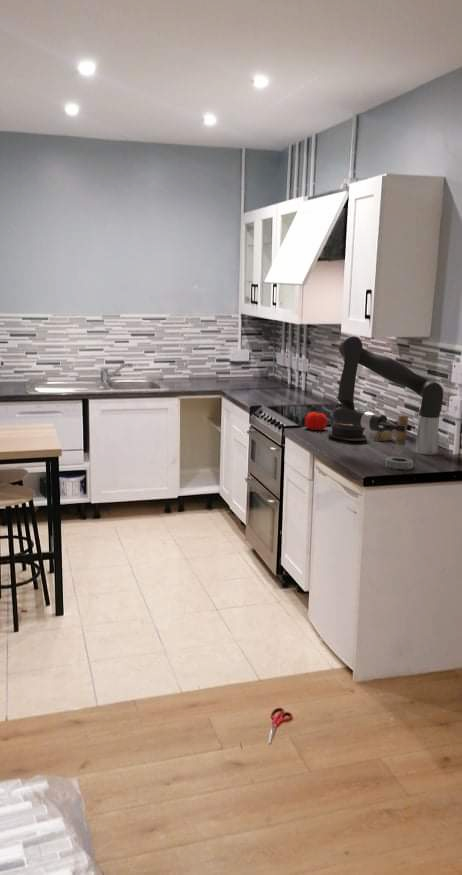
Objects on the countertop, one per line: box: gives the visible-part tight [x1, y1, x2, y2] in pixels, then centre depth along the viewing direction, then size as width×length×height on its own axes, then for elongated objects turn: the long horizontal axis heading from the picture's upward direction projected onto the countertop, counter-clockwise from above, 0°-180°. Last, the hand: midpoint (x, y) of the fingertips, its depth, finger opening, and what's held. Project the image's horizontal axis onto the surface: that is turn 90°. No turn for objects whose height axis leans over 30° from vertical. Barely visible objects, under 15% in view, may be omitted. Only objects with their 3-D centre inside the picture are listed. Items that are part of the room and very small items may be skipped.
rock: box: [373, 430, 393, 442], centre depth 372 cm, size 11×9×10 cm
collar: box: [384, 456, 414, 471], centre depth 317 cm, size 11×11×3 cm
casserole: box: [327, 420, 368, 442], centre depth 370 cm, size 25×19×8 cm
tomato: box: [304, 411, 328, 431], centre depth 391 cm, size 11×12×9 cm
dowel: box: [395, 414, 409, 446], centre depth 314 cm, size 4×4×12 cm
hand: (407, 428), depth 312 cm, fingers closed on dowel, 4 cm apart
